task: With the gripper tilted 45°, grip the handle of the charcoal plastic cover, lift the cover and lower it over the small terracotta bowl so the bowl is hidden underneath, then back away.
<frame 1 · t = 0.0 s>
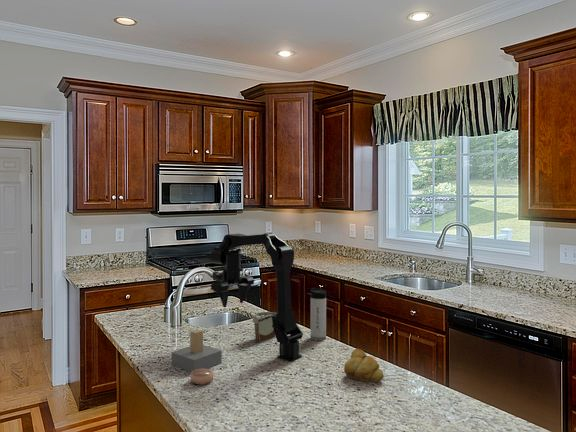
hand: (233, 305, 185), 15 cm above the countertop, tool pointing down, fingers open, 9 cm apart
bread roll: (363, 379, 150), on the countertop
cover: (196, 363, 162), on the countertop
bowl: (202, 381, 147), on the countertop
travel mug: (317, 338, 191), on the countertop
food container: (262, 339, 190), on the countertop
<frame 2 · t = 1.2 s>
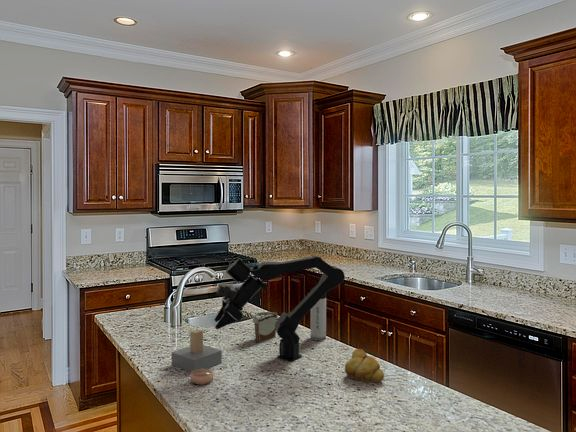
hand: (215, 324, 163), 13 cm above the countertop, tool tilted 45°, fingers open, 9 cm apart
nothing on the countertop moved.
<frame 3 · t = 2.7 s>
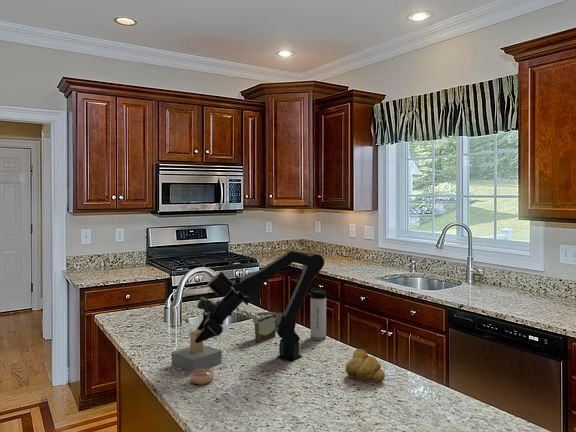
hand: (195, 338, 161), 9 cm above the countertop, tool tilted 45°, fingers open, 9 cm apart
nothing on the countertop moved.
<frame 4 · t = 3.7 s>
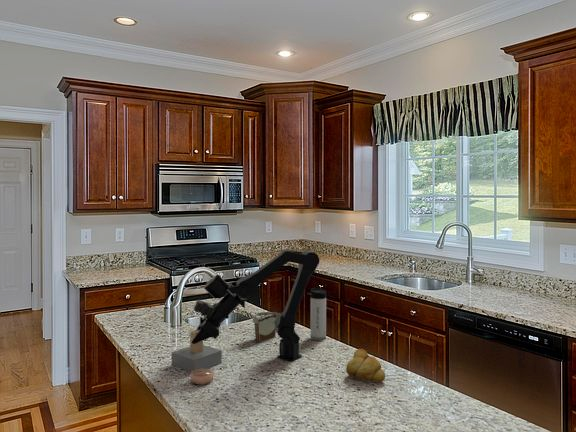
hand: (192, 341, 161), 8 cm above the countertop, tool tilted 45°, fingers closed on cover, 4 cm apart
cover: (196, 363, 162), on the countertop, touching gripper
everything else where it was.
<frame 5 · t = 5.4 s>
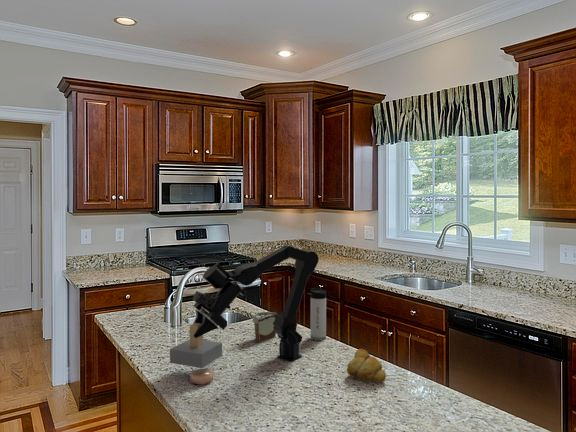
hand: (192, 335, 151), 13 cm above the countertop, tool tilted 45°, fingers closed on cover, 4 cm apart
cover: (196, 359, 152), point 5 cm above the countertop, touching gripper
everything else where it was.
when the fingers open (9 cm above the countertop, at t = 7.0 s): cover stays where it is, on the countertop.
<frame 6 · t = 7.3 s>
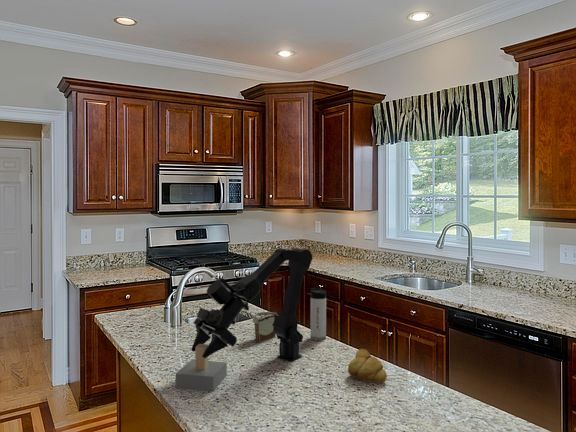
hand: (197, 354, 145), 9 cm above the countertop, tool tilted 45°, fingers open, 7 cm apart
cover: (202, 381, 147), on the countertop
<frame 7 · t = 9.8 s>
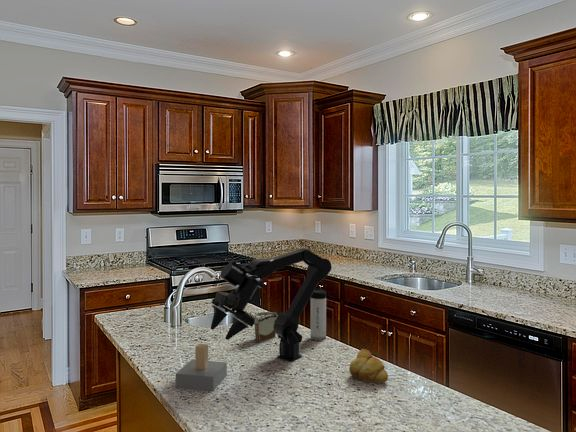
hand: (218, 334, 154), 13 cm above the countertop, tool tilted 35°, fingers open, 9 cm apart
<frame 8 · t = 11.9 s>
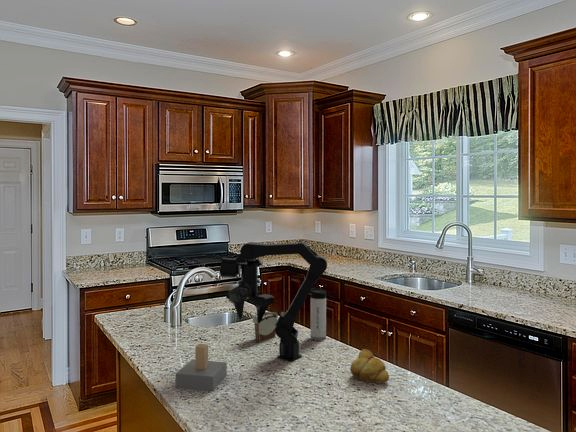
hand: (249, 320, 169), 13 cm above the countertop, tool pointing down, fingers open, 9 cm apart
at the end: cover 0.0 cm from the bowl (horizontally); cover on the countertop; cover tilted 0° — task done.
